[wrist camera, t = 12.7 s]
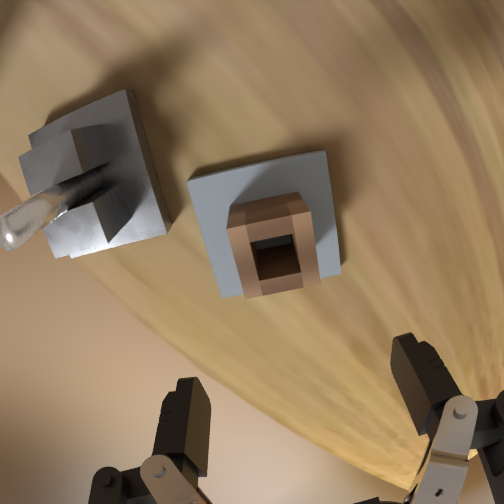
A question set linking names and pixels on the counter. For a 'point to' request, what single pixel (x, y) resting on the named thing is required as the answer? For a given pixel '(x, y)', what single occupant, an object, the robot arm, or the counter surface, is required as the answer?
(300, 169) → the mat
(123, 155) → the grey block-shaped fixture
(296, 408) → the counter surface
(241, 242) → the collar
